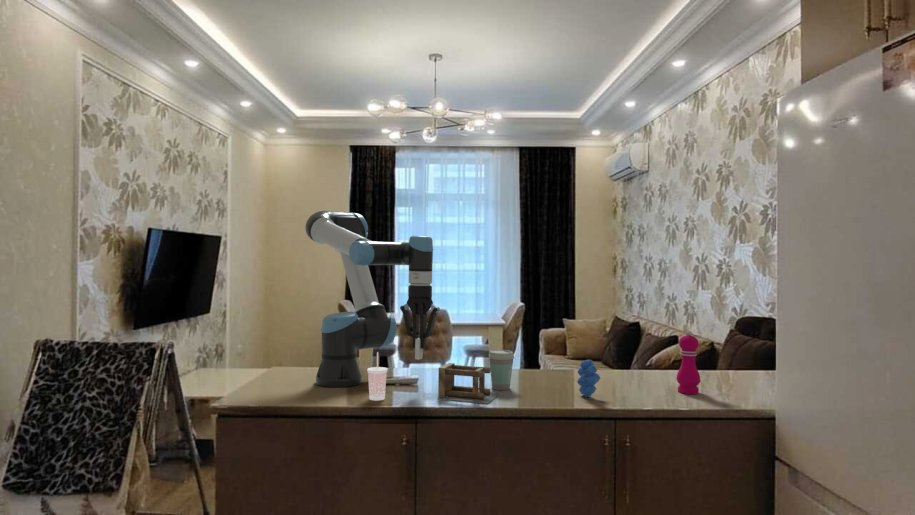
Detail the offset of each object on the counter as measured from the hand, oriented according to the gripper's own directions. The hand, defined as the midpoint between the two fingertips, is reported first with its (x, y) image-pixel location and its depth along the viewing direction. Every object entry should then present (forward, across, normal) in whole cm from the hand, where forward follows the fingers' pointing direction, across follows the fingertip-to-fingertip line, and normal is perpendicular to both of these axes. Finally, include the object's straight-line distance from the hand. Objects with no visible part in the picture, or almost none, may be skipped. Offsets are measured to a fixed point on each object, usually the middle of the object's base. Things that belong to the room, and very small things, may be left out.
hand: (418, 358), depth 187 cm
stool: (+6, +9, 0) cm, 10 cm away
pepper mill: (+10, +81, +31) cm, 88 cm away
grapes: (+10, +52, +12) cm, 55 cm away
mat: (+10, +18, 0) cm, 21 cm away
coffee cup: (+11, +23, +15) cm, 29 cm away
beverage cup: (+11, -8, -13) cm, 19 cm away
